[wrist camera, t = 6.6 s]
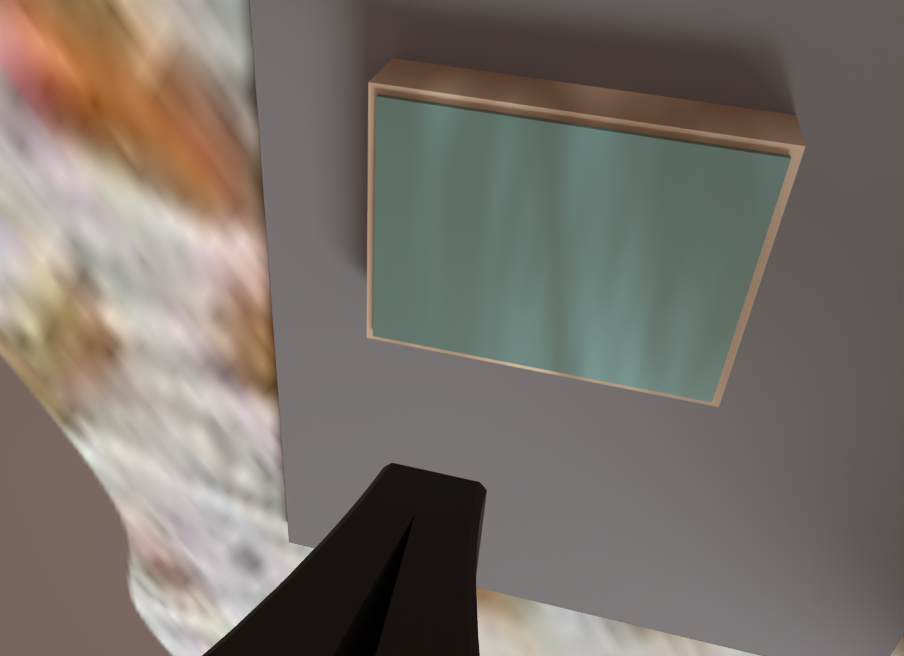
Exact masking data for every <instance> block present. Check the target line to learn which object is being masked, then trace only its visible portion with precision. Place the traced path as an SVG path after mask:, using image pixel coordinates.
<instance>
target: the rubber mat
mask: <svg viewBox="0 0 904 656" xmlns="http://www.w3.org/2000/svg"><path fill="white" fill-rule="evenodd" d="M249 1H250V15H251V28H252V42H253V56H254V69H255V83H256V97H257V110H258V124H259V138H260V151H261V165H262V179H263V192H264V206H265V220H266V233H267V247H268V261H269V274H270V288H271V302H272V315H273V329H274V343H275V356H276V370H277V384H278V397H279V411H280V425H281V438H282V452H283V466H284V480H285V493H286V507H287V521H288V534H289V542H291V543H295V544H299V545H303V546H307V547H311V548H316V547H317V546H318V544H319V543H320V542H321V541H322V540H323V539H324V538H325V537H326V536H327V535H328V534H329V533H330V532H331V530H332V529H333V528H334V527H335V526H336V525H337V524H338V522H339V521H340V520H341V519H342V518H343V517H344V516H345V515H346V513H347V512H348V511H349V510H350V509H351V508H352V506H353V505H354V504H355V503H356V502H357V500H358V499H359V498H360V497H361V496H362V494H363V493H364V492H365V491H366V489H367V488H368V487H369V486H370V484H371V483H372V482H373V481H374V479H375V478H376V477H377V475H378V474H379V473H380V471H381V470H382V469H383V467H385V466H387V465H388V464H390V463H396V464H401V465H405V466H410V467H414V468H419V469H423V470H428V471H432V472H437V473H441V474H446V475H451V476H455V477H460V478H464V479H469V480H473V481H478V482H480V483H481V484H482V485H483V486H484V487H485V489H486V490H487V494H486V502H485V510H484V518H483V526H482V534H481V542H480V550H479V558H478V566H477V574H476V587H478V588H482V589H486V590H490V591H495V592H499V593H503V594H507V595H511V596H515V597H519V598H524V599H528V600H532V601H536V602H540V603H544V604H549V605H553V606H557V607H561V608H565V609H569V610H574V611H578V612H582V613H586V614H590V615H594V616H599V617H603V618H607V619H611V620H615V621H619V622H624V623H628V624H632V625H636V626H640V627H644V628H648V629H653V630H657V631H661V632H665V633H669V634H673V635H678V636H682V637H686V638H690V639H694V640H698V641H703V642H707V643H711V644H715V645H719V646H723V647H728V648H732V649H736V650H740V651H744V652H748V653H753V654H757V655H761V656H890V655H891V654H892V652H893V651H894V649H895V647H896V646H897V644H898V643H899V641H900V640H901V638H902V636H903V635H904V0H249ZM392 58H396V59H403V60H410V61H417V62H424V63H431V64H438V65H445V66H452V67H459V68H466V69H473V70H481V71H488V72H495V73H502V74H509V75H516V76H523V77H530V78H537V79H544V80H551V81H558V82H565V83H572V84H579V85H586V86H594V87H601V88H608V89H615V90H622V91H629V92H636V93H643V94H650V95H657V96H664V97H671V98H678V99H685V100H692V101H699V102H706V103H714V104H721V105H728V106H735V107H742V108H749V109H756V110H763V111H770V112H777V113H784V114H791V115H796V117H797V120H798V123H799V127H800V130H801V133H802V136H803V140H804V143H805V146H806V147H805V150H804V153H803V156H802V159H801V162H800V165H799V168H798V171H797V174H796V177H795V180H794V183H793V186H792V189H791V192H790V195H789V198H788V201H787V204H786V207H785V210H784V213H783V216H782V219H781V222H780V225H779V228H778V231H777V234H776V237H775V240H774V243H773V246H772V249H771V252H770V255H769V258H768V261H767V264H766V267H765V270H764V273H763V276H762V279H761V282H760V285H759V288H758V291H757V294H756V297H755V300H754V303H753V306H752V309H751V312H750V315H749V318H748V321H747V324H746V327H745V330H744V333H743V336H742V339H741V342H740V345H739V348H738V351H737V354H736V357H735V360H734V363H733V366H732V369H731V372H730V375H729V378H728V381H727V384H726V387H725V390H724V393H723V396H722V399H721V402H720V405H719V407H716V406H711V405H706V404H701V403H695V402H690V401H685V400H680V399H675V398H670V397H665V396H660V395H655V394H650V393H645V392H640V391H634V390H629V389H624V388H619V387H614V386H609V385H604V384H599V383H594V382H589V381H584V380H579V379H574V378H568V377H563V376H558V375H553V374H548V373H543V372H538V371H533V370H528V369H523V368H518V367H513V366H507V365H502V364H497V363H492V362H487V361H482V360H477V359H472V358H467V357H462V356H457V355H452V354H447V353H441V352H436V351H431V350H426V349H421V348H416V347H411V346H406V345H401V344H396V343H391V342H386V341H380V340H375V339H370V338H367V212H368V82H369V81H370V80H371V79H372V78H373V77H374V76H375V75H376V74H377V73H378V72H379V71H380V70H381V69H382V68H383V67H384V66H385V65H386V64H387V63H388V62H389V61H390V60H391V59H392Z"/></svg>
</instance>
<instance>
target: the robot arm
mask: <svg viewBox="0 0 904 656" xmlns="http://www.w3.org/2000/svg"><path fill="white" fill-rule="evenodd" d="M486 494H487V490H486V489H485V487H484V486H483V485H482V484H481V483H480V482H478V481H473V480H469V479H464V478H460V477H455V476H451V475H446V474H441V473H437V472H432V471H428V470H423V469H419V468H414V467H410V466H405V465H401V464H396V463H390V464H388V465H387V466H385V467H383V469H382V470H381V471H380V473H379V474H378V475H377V477H376V478H375V479H374V481H373V482H372V483H371V484H370V486H369V487H368V488H367V489H366V491H365V492H364V493H363V494H362V496H361V497H360V498H359V499H358V500H357V502H356V503H355V504H354V505H353V506H352V508H351V509H350V510H349V511H348V512H347V513H346V515H345V516H344V517H343V518H342V519H341V520H340V521H339V522H338V524H337V525H336V526H335V527H334V528H333V529H332V530H331V532H330V533H329V534H328V535H327V536H326V537H325V538H324V539H323V540H322V541H321V542H320V543H319V544H318V546H317V547H316V548H315V549H314V550H313V551H312V552H311V553H310V554H309V555H308V556H307V557H306V558H305V559H304V560H303V561H302V562H301V563H300V564H299V565H298V567H297V568H296V569H295V570H294V571H293V572H292V573H291V574H290V575H289V576H288V577H287V578H286V579H285V580H284V581H283V582H282V583H281V584H280V585H279V586H278V587H277V588H276V589H275V590H274V591H273V592H272V593H270V594H269V595H268V596H267V597H266V598H265V599H264V600H263V601H262V602H261V603H260V604H259V605H258V606H257V607H256V608H255V609H254V610H252V611H251V612H250V613H249V614H248V615H247V616H246V617H245V618H244V619H243V620H242V621H241V622H240V623H239V624H238V625H237V626H236V627H234V628H233V629H232V630H231V631H230V632H229V633H228V634H227V635H225V636H224V637H223V638H222V639H221V640H220V641H219V642H217V643H216V644H215V645H214V646H213V647H212V648H211V649H209V650H208V651H207V652H206V653H205V654H204V655H202V656H480V654H479V641H478V622H477V598H476V574H477V566H478V558H479V550H480V542H481V534H482V526H483V518H484V510H485V502H486Z"/></svg>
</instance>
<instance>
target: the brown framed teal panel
mask: <svg viewBox="0 0 904 656" xmlns="http://www.w3.org/2000/svg"><path fill="white" fill-rule="evenodd" d="M805 147H806V146H805V143H804V140H803V136H802V133H801V130H800V127H799V123H798V120H797V117H796V115H791V114H784V113H777V112H770V111H763V110H756V109H749V108H742V107H735V106H728V105H721V104H714V103H706V102H699V101H692V100H685V99H678V98H671V97H664V96H657V95H650V94H643V93H636V92H629V91H622V90H615V89H608V88H601V87H594V86H586V85H579V84H572V83H565V82H558V81H551V80H544V79H537V78H530V77H523V76H516V75H509V74H502V73H495V72H488V71H481V70H473V69H466V68H459V67H452V66H445V65H438V64H431V63H424V62H417V61H410V60H403V59H396V58H392V59H391V60H390V61H389V62H388V63H387V64H386V65H385V66H384V67H383V68H382V69H381V70H380V71H379V72H378V73H377V74H376V75H375V76H374V77H373V78H372V79H371V80H370V81H369V82H368V212H367V338H370V339H375V340H380V341H386V342H391V343H396V344H401V345H406V346H411V347H416V348H421V349H426V350H431V351H436V352H441V353H447V354H452V355H457V356H462V357H467V358H472V359H477V360H482V361H487V362H492V363H497V364H502V365H507V366H513V367H518V368H523V369H528V370H533V371H538V372H543V373H548V374H553V375H558V376H563V377H568V378H574V379H579V380H584V381H589V382H594V383H599V384H604V385H609V386H614V387H619V388H624V389H629V390H634V391H640V392H645V393H650V394H655V395H660V396H665V397H670V398H675V399H680V400H685V401H690V402H695V403H701V404H706V405H711V406H716V407H719V405H720V402H721V399H722V396H723V393H724V390H725V387H726V384H727V381H728V378H729V375H730V372H731V369H732V366H733V363H734V360H735V357H736V354H737V351H738V348H739V345H740V342H741V339H742V336H743V333H744V330H745V327H746V324H747V321H748V318H749V315H750V312H751V309H752V306H753V303H754V300H755V297H756V294H757V291H758V288H759V285H760V282H761V279H762V276H763V273H764V270H765V267H766V264H767V261H768V258H769V255H770V252H771V249H772V246H773V243H774V240H775V237H776V234H777V231H778V228H779V225H780V222H781V219H782V216H783V213H784V210H785V207H786V204H787V201H788V198H789V195H790V192H791V189H792V186H793V183H794V180H795V177H796V174H797V171H798V168H799V165H800V162H801V159H802V156H803V153H804V150H805Z"/></svg>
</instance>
